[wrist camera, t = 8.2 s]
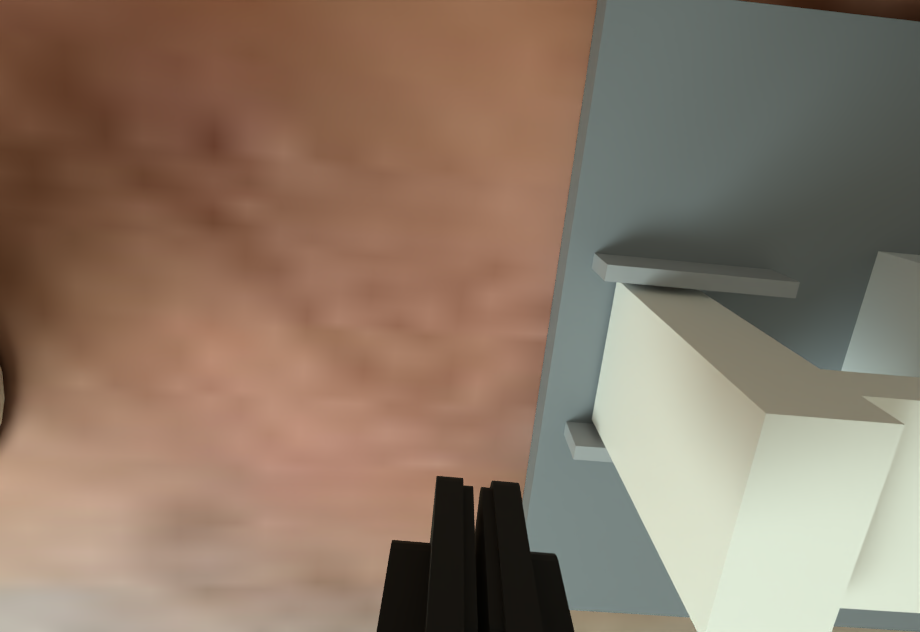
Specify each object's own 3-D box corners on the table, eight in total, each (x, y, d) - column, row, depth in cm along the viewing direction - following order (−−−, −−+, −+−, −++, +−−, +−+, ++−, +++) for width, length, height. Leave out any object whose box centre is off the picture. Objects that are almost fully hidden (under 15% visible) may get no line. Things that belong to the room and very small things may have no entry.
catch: (591, 419, 25) (702, 642, 14) (617, 279, 23) (766, 413, 12) (743, 431, 25) (965, 658, 15) (780, 294, 23) (1063, 437, 13)
